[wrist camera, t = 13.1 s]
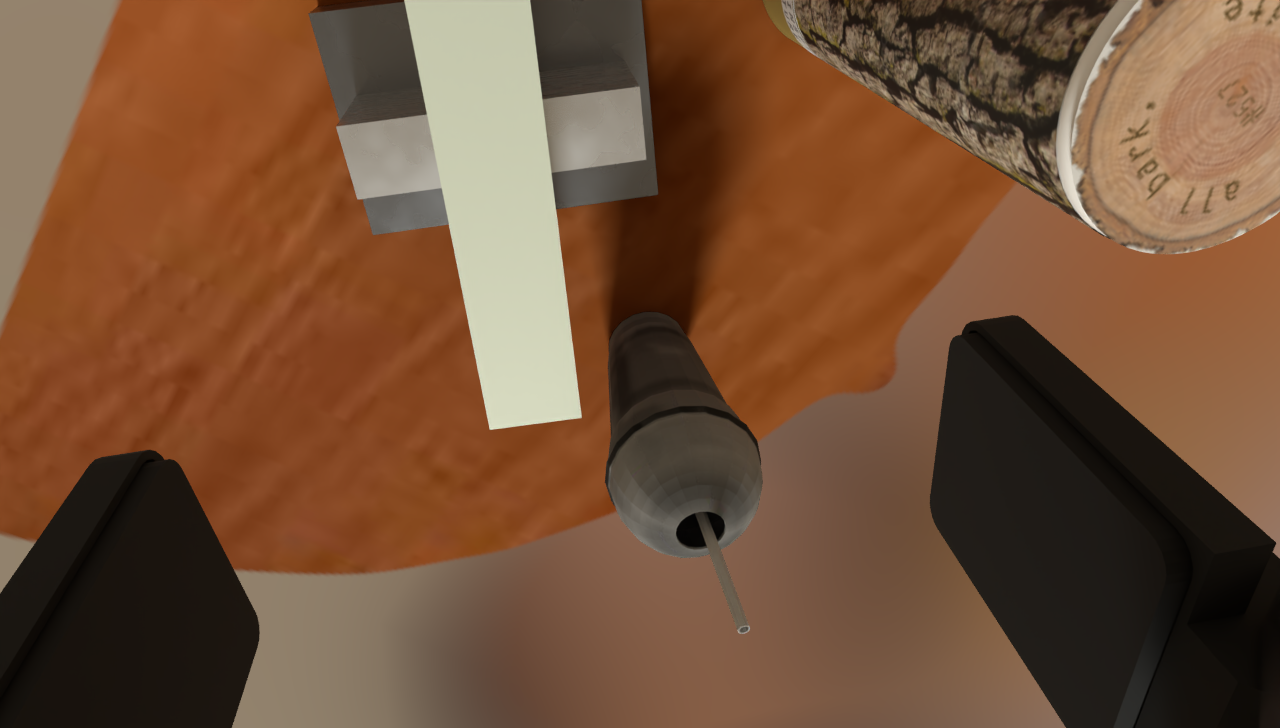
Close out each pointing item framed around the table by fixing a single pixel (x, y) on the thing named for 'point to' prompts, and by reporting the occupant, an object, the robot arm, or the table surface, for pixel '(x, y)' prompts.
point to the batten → (499, 201)
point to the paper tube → (1084, 100)
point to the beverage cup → (677, 449)
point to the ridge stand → (571, 93)
